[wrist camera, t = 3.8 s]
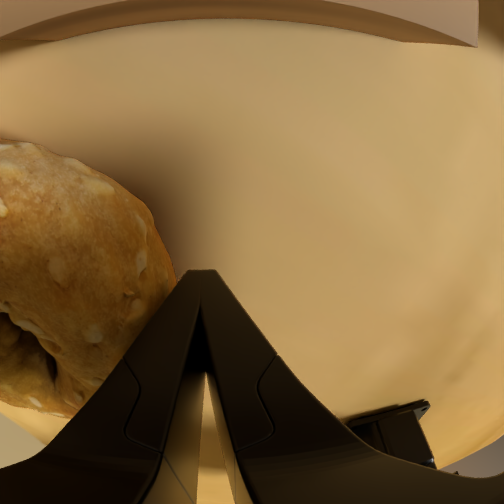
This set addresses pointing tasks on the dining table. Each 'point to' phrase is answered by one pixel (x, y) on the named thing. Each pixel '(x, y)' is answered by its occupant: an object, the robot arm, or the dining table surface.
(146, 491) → the robot arm
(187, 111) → the dining table surface
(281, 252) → the dining table surface
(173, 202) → the dining table surface
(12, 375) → the bagel
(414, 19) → the walnut block
